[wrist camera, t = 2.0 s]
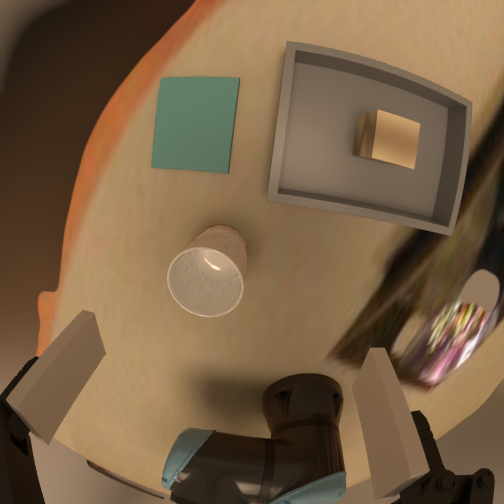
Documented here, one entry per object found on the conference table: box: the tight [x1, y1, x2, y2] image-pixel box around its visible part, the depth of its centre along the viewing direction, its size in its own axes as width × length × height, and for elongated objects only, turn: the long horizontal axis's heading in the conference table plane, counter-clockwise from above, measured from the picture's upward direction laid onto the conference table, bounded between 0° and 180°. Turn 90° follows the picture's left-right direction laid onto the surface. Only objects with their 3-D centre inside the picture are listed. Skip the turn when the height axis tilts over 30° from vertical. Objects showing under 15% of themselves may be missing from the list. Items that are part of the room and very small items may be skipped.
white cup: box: [167, 225, 247, 317], centre depth 32 cm, size 8×8×10 cm
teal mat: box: [151, 77, 240, 173], centre depth 30 cm, size 12×10×1 cm
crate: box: [267, 41, 472, 236], centre depth 27 cm, size 18×24×5 cm
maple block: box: [352, 110, 420, 169], centre depth 26 cm, size 5×5×7 cm
